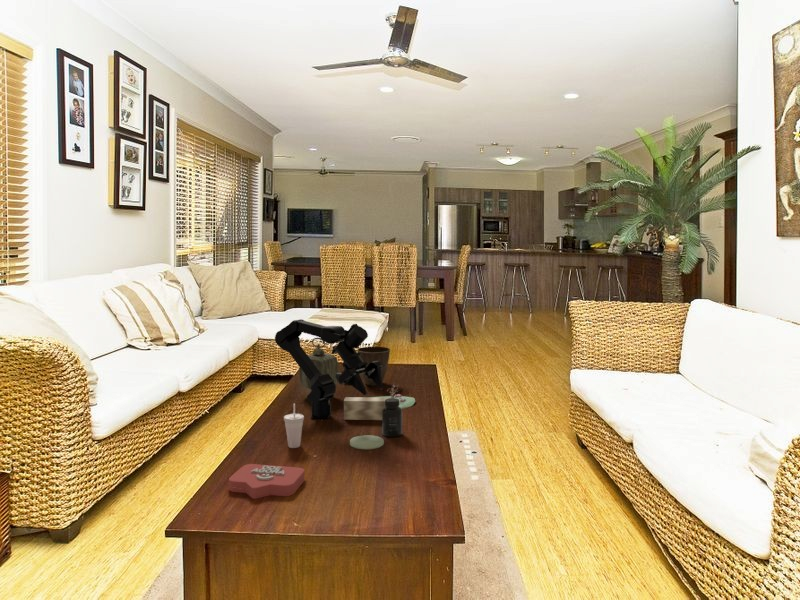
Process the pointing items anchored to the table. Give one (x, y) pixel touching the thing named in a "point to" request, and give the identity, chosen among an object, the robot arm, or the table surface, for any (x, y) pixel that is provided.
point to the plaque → (266, 480)
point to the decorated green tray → (400, 399)
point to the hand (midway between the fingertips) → (374, 391)
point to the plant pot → (374, 359)
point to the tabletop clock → (321, 365)
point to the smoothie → (294, 428)
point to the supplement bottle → (392, 418)
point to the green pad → (366, 442)
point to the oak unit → (363, 408)
